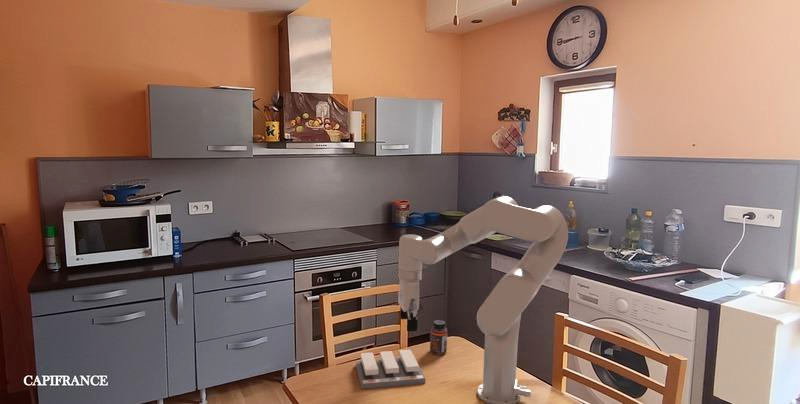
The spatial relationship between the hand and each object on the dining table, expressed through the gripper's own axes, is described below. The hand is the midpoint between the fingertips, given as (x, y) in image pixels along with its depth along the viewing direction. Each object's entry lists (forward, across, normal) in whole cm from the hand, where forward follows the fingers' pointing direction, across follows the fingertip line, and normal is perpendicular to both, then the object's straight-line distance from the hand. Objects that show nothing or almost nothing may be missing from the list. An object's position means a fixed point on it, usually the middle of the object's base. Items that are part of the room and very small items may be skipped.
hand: (408, 324), depth 159 cm
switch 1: (+13, 0, -13) cm, 18 cm away
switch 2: (+13, 0, 0) cm, 13 cm away
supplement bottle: (+16, -11, +14) cm, 24 cm away
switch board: (+16, +1, -6) cm, 17 cm away
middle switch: (+13, 0, -6) cm, 14 cm away
